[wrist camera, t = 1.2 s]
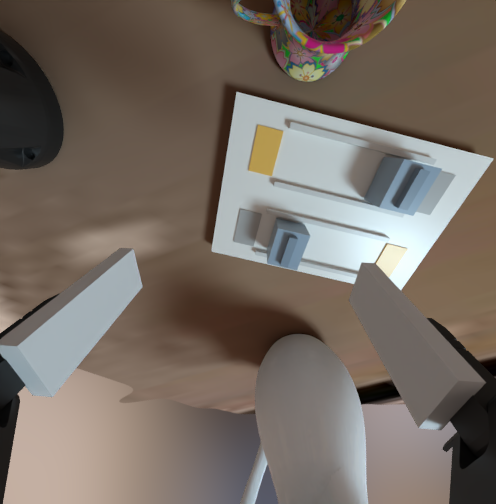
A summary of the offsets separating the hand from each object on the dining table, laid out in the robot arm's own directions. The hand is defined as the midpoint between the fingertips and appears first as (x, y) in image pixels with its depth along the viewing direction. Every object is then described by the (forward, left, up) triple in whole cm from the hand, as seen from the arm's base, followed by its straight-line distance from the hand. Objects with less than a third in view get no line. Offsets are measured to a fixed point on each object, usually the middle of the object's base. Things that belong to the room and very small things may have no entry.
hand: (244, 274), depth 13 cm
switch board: (+10, +1, -20) cm, 22 cm away
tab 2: (+15, +6, -18) cm, 24 cm away
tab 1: (+5, -4, -18) cm, 19 cm away
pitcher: (+14, -32, -20) cm, 40 cm away
